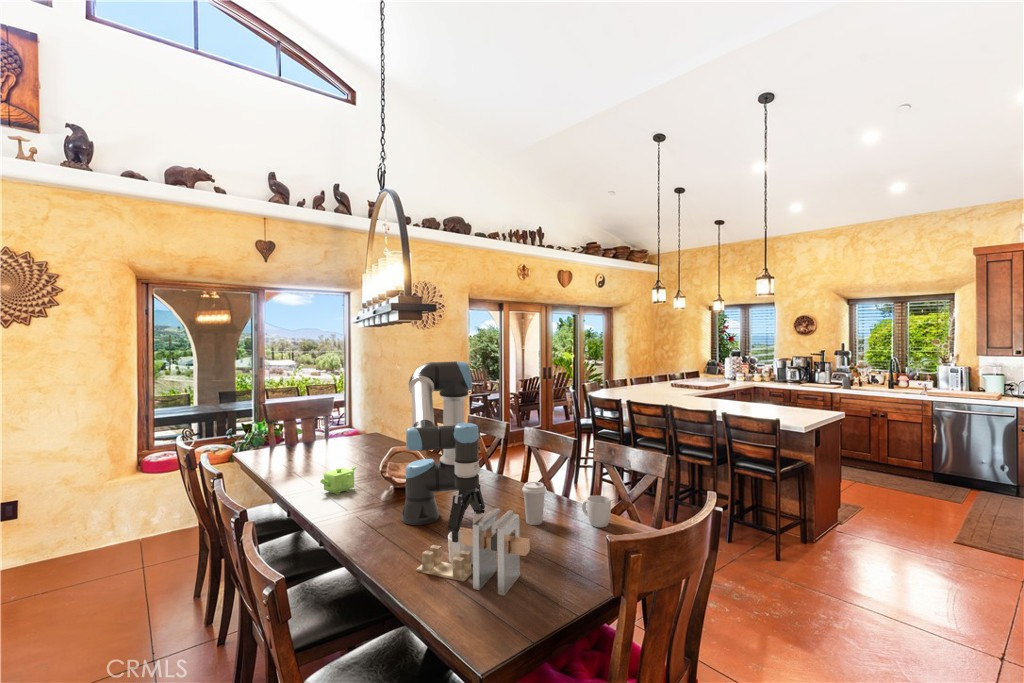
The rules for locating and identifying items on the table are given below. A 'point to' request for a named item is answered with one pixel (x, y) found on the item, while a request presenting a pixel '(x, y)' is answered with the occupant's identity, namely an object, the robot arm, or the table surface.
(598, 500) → the mug
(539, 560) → the table surface
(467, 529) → the block
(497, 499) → the table surface
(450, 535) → the mug
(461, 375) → the robot arm
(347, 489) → the green boxy piggy bank
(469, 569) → the rack
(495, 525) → the twin slotted uprights
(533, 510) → the coffee cup
